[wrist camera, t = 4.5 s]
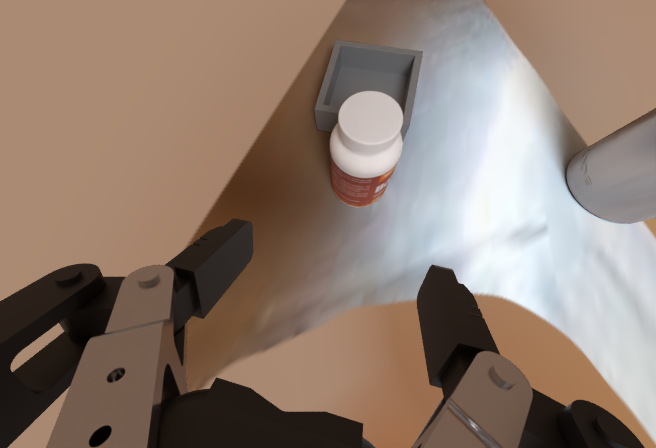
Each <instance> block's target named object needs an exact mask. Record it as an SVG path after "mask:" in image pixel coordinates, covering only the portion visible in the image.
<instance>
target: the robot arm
mask: <svg viewBox="0 0 656 448" xmlns="http://www.w3.org/2000/svg"><path fill="white" fill-rule="evenodd" d="M567 181H568V185H569V188H570V190H571V192H572V194H573V195H574V197H575V198H576V200H577V201H578V202H579V203H580V204H581V205H582V206H583V207H584V208H586V209H587V210H588V211H589V212H591V213H592V214H594V215H596V216H598V217H600V218H602V219H605V220H607V221H610V222H615V223H622V224H631V223H636V222H641V221H645V220H649V219H654V218H656V108H655V109H653V110H652V111H650V112H648V113H647V114H645V115H643V116H641V117H639V118H638V119H636V120H634V121H632V122H631V123H629V124H627V125H626V126H624V127H622V128H621V129H618V130H617V131H615V132H614V133H612V134H610V135H608V136H607V137H605V138H603V139H601V140H599V141H598V142H596V143H594V144H593V145H591V146H589V147H587V148H586V149H584V150H582V151H580V152H579V153H578V154H576V155H575V156H574V157H573V158H572V160H571V161H570V163H569V165H568V168H567ZM252 254H253V229H252V223H251V222H248V221H244V220H239V219H232V220H231V221H230V222H228V223H227V224H226V225H225V226H223V227H221V226H220V227H217V228H215V229H213V230H210V231H208V232H207V233H206V234H204V235H203V236H202V237H200V239H198V240H197V241H195V242H194V243H193V245H190V246H189V247H187V248H186V249H185V250H184V251H182V252H181V253H180V254H178V255H177V256H176V257H175V258H173V259H172V260H171V261H169V262H168V263H167V264H166V265H152V266H147V267H143V268H140V269H138V270H136V271H134V272H132V273H131V274H129V275H128V276H127V277H103V276H102V273H101V271H100V269H99V267H98V266H96V265H93V264H75V265H71V266H67V267H64V268H61V269H58V270H56V271H54V272H52V273H49V274H48V275H46V276H44V277H42V278H41V279H39V280H37V281H35V282H34V283H32V284H30V285H28V286H27V287H25V288H23V289H21V290H19V291H18V292H16V293H14V294H12V295H11V296H9V297H7V298H5V299H4V300H2V301H0V448H7V447H8V446H9V445H10V444H11V443H12V442H13V441H14V440H15V439H17V437H18V436H20V435H21V434H22V433H23V432H24V430H26V429H27V428H28V427H29V426H30V425H31V424H32V423H33V422H34V420H36V419H37V418H38V417H39V416H40V415H41V414H42V413H43V412H44V411H45V410H46V409H47V408H48V407H49V406H50V405H51V404H52V403H53V402H54V401H55V400H56V399H57V398H58V397H59V396H60V395H61V394H62V393H63V392H64V391H65V390H66V389H67V388H68V387H69V386H70V388H69V390H68V393H67V396H66V398H65V401H64V403H63V406H62V408H61V411H60V413H59V416H58V419H57V421H56V424H55V427H54V429H53V431H52V434H51V436H50V439H49V442H48V444H47V447H46V448H375V447H374V446H373V445H372V444H371V443H370V442H369V441H367V440H366V439H364V438H363V437H362V432H363V424H362V423H359V422H356V421H353V420H350V419H347V418H344V417H340V416H337V415H334V414H331V413H328V412H285V411H281V410H280V409H279V408H277V407H276V406H274V405H273V404H272V403H270V402H269V401H267V400H266V399H265V398H263V397H262V396H261V395H259V394H258V393H256V392H255V391H254V390H252V389H251V388H248V387H245V386H242V385H239V384H235V383H232V382H229V381H226V380H223V379H220V378H216V379H215V381H214V382H213V384H212V386H211V388H210V389H203V390H196V391H192V392H188V385H187V378H186V359H187V321H188V320H189V319H190V318H191V317H192V316H195V317H199V318H202V319H204V318H205V316H206V315H207V314H208V313H209V311H210V310H211V309H212V308H213V306H214V305H215V304H216V303H217V302H218V300H219V299H220V298H221V297H222V295H223V294H224V293H225V292H226V290H227V289H228V288H229V287H230V285H231V284H232V283H233V282H234V280H235V279H236V278H237V277H238V275H239V274H240V273H241V272H242V271H243V269H244V268H245V267H246V266H247V264H248V263H249V262H250V260H251V257H252ZM417 309H418V315H419V321H420V328H421V334H422V340H423V346H424V352H425V358H426V365H427V371H428V377H429V383H430V385H432V386H436V387H439V388H442V390H443V395H444V398H443V399H442V400H441V402H440V403H439V405H438V406H437V408H436V409H435V411H434V412H433V414H432V416H431V417H430V419H429V420H428V422H427V423H426V425H425V427H424V428H423V430H422V432H421V433H420V434H419V436H418V438H417V439H416V441H415V442H414V444H413V445H412V447H411V448H644V446H643V445H642V444H641V442H640V441H639V440H638V438H637V437H636V436H635V435H634V434H633V433H632V432H631V431H630V430H629V429H628V428H627V427H626V426H625V425H624V424H623V423H622V422H621V421H620V420H618V419H617V418H616V417H615V416H613V415H612V414H610V413H609V412H608V411H606V410H605V409H603V408H601V407H599V406H598V405H596V404H594V403H591V402H589V401H585V400H576V401H574V402H573V403H571V404H570V405H568V406H567V407H566V406H564V405H562V404H561V403H559V402H557V401H555V400H553V399H551V398H550V397H548V396H546V395H544V394H542V393H540V392H538V391H536V390H535V389H533V388H531V386H530V383H529V382H528V380H527V378H526V377H525V375H524V374H523V373H522V372H521V371H520V370H519V368H517V367H516V366H515V365H514V364H513V363H512V362H511V361H509V360H508V359H506V358H504V357H503V356H501V355H500V353H499V351H498V349H497V347H496V344H495V342H494V340H493V338H492V336H491V334H490V331H489V329H488V327H487V324H486V322H485V320H484V318H482V314H481V311H480V309H478V305H477V302H476V300H475V298H474V296H473V294H472V293H471V292H470V291H469V290H468V289H467V288H466V287H465V285H464V284H459V283H458V281H457V279H456V276H455V274H454V271H453V270H452V269H449V268H445V267H440V266H436V265H432V266H431V267H430V268H429V270H428V272H427V274H426V277H425V279H424V281H423V283H422V285H421V287H420V290H419V292H418V296H417ZM57 323H59V324H60V325H61V327H62V328H63V330H64V332H63V333H62V334H61V335H59V336H58V337H57V338H56V339H54V340H53V341H52V342H50V343H49V344H48V345H47V346H45V347H44V348H43V349H42V350H40V351H39V352H38V353H37V354H35V355H34V356H33V357H32V358H30V359H29V360H28V361H27V362H25V363H24V364H23V365H21V366H20V367H19V368H18V369H16V370H15V371H14V372H12V371H11V369H10V366H11V363H12V361H13V359H14V358H15V356H16V355H17V354H18V353H19V352H20V351H21V350H23V349H24V348H25V347H27V346H28V345H29V344H31V343H32V342H33V341H35V340H36V339H37V338H39V337H40V336H41V335H43V334H44V333H45V332H47V331H48V330H50V329H51V328H52V327H53V326H55V325H56V324H57Z"/></svg>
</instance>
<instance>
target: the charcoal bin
mask: <svg viewBox="0 0 656 448" xmlns="http://www.w3.org/2000/svg"><path fill="white" fill-rule="evenodd" d="M422 54H423V51H415V50H408V49H400V48H393V47H386V46H378V45H371V44H363V43H356V42H349V41H341V40H336V42H335V45H334V48H333V51H332V55H331V58H330V61H329V64H328V67H327V71H326V74H325V77H324V80H323V83H322V87H321V90H320V93H319V96H318V99H317V102H316V106H315V109H314V110H315V118H316V125H317V130H321V131H326V132H332V131H333V129H334V127H335V126H336V124H337V123H338V114H339V110H340V108H341V106H342V104H343V103H344V102H345V101H346V100H347V99H348V98H349V97H351V96H352V95H354V94H357V93H359V92H364V91H377V92H381V93H384V94H387V95H388V96H390V97H392V98H393V99H394V100H395V101H396V102H397V103H398V104H399V106H400V108H401V110H402V113H403V124H402V127H401V130H400V132H401V136H402V141H403V140H404V137H405V135H406V133H407V130H408V128H409V126H410V120H411V115H412V109H413V104H414V98H415V93H416V87H417V82H418V76H419V71H420V65H421V60H422Z"/></svg>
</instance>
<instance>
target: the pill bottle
mask: <svg viewBox="0 0 656 448" xmlns="http://www.w3.org/2000/svg"><path fill="white" fill-rule="evenodd" d="M402 124H403V113H402V110H401V108H400V106H399V104H398V103H397V102H396V101H395V100H394V99H393V98H392V97H390V96H388V95H387V94H384V93H381V92H377V91H364V92H359V93H357V94H354V95H352V96H351V97H349V98H348V99H347V100H346V101H345V102H344V103H343V104H342V106H341V108H340V110H339V114H338V123H337V124H336V126H335V127H334V129H333V131H332V134H331V138H330V158H331V174H332V186H333V190H334V193H335V195H336V196H337V197H338V199H339V200H340V201H342V202H343V203H344V204H346V205H348V206H351V207H358V208H360V207H367V206H370V205H372V204H374V203H375V202H377V201H378V200H379V199H380V198H381V196H382V195H383V193H384V191H385V189H386V187H387V185H388V182H389V180H390V178H391V176H392V174H393V171H394V169H395V167H396V165H397V162H398V160H399V158H400V155H401V152H402V146H403V141H402V136H401V132H400V130H401V127H402Z"/></svg>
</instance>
